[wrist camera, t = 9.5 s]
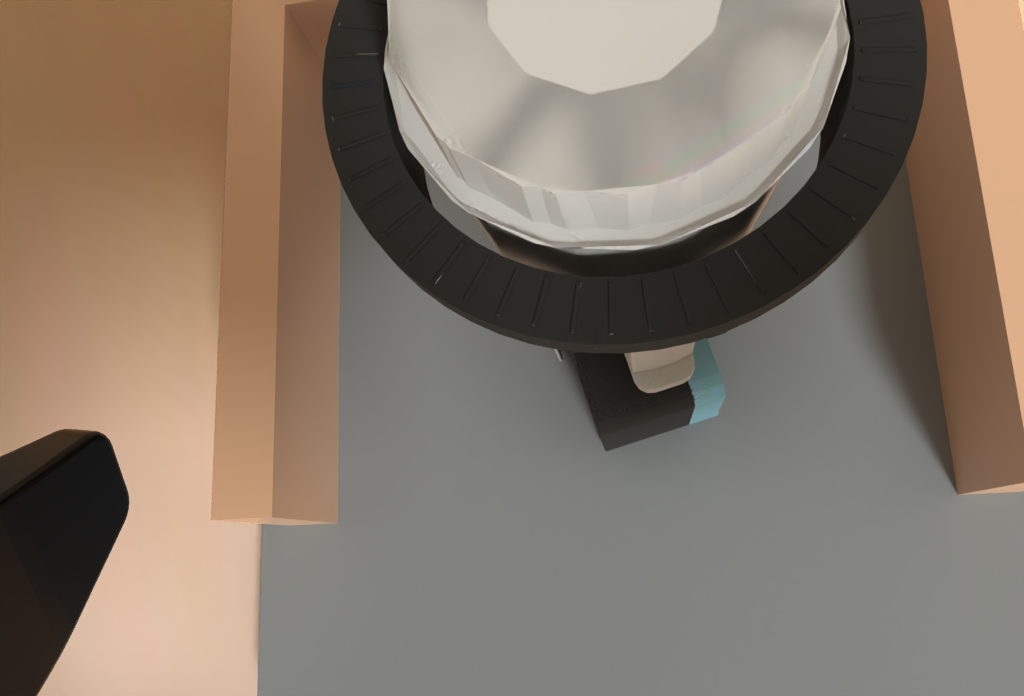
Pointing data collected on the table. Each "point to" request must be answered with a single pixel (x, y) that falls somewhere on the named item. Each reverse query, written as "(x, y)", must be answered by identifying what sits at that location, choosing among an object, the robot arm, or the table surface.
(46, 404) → the table surface
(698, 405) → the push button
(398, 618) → the end holder
